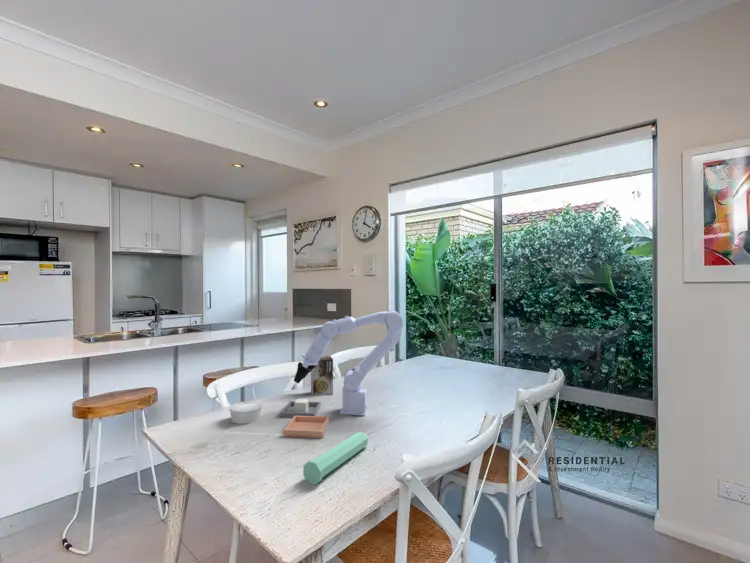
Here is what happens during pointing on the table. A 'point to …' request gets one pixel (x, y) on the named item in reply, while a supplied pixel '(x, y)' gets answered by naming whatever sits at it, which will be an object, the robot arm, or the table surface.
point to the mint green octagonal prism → (334, 457)
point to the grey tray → (289, 412)
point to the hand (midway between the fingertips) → (298, 379)
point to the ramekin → (245, 412)
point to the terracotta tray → (306, 427)
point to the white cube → (301, 405)
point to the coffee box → (322, 377)
